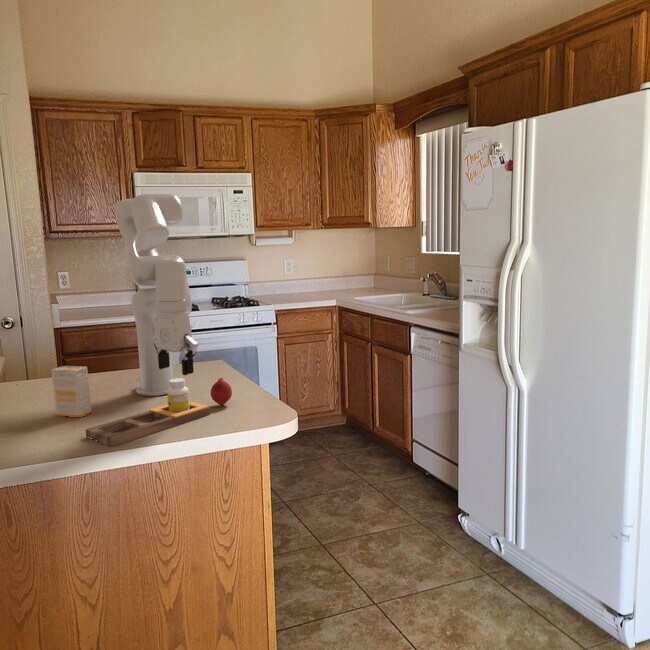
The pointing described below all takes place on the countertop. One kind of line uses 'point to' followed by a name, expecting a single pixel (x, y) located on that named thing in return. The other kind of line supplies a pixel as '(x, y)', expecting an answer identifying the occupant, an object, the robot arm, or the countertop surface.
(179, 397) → the supplement bottle
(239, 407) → the countertop surface
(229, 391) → the onion
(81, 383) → the supplement box
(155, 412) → the socket rail
